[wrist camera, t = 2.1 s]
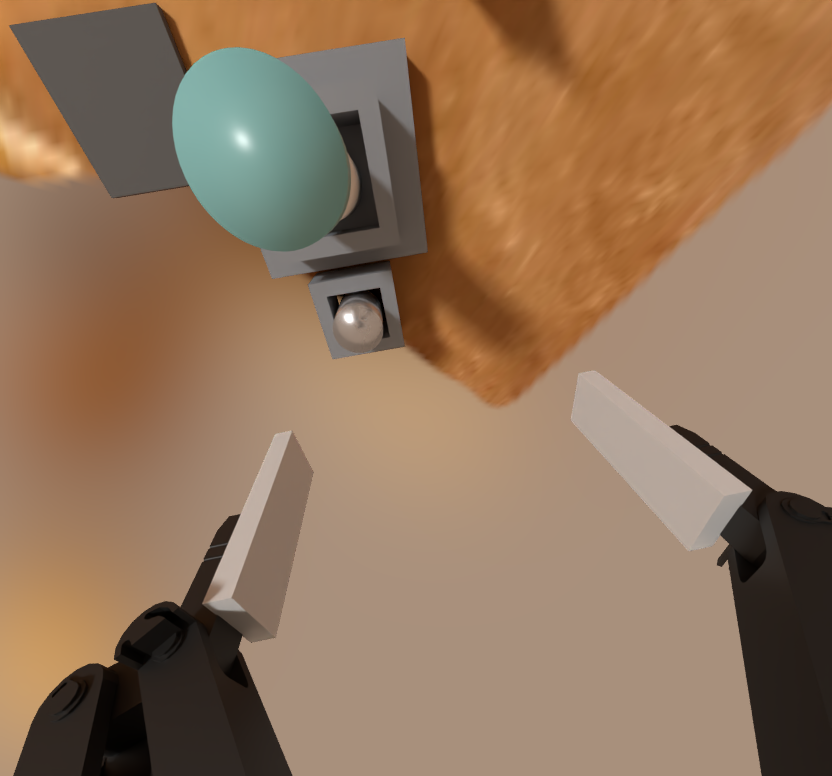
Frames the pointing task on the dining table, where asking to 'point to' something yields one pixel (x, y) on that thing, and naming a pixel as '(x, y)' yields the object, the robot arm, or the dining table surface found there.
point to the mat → (114, 91)
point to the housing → (364, 182)
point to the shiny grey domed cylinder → (358, 322)
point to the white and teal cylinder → (262, 150)
